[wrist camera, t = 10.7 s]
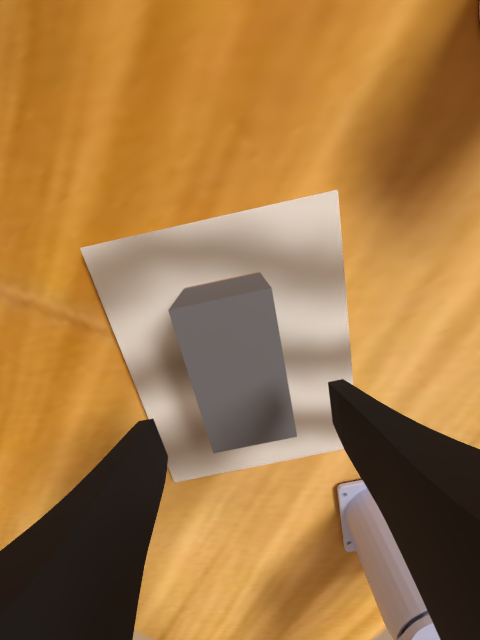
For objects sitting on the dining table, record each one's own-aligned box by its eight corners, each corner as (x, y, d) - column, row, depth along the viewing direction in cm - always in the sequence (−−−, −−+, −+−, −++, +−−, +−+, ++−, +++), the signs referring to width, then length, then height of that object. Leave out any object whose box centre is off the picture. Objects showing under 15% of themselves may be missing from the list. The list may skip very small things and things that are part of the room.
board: (352, 437, 23) (358, 446, 22) (176, 472, 24) (174, 482, 23) (331, 191, 17) (338, 189, 16) (88, 247, 17) (79, 248, 16)
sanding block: (280, 387, 20) (297, 436, 15) (216, 401, 20) (213, 453, 15) (259, 271, 17) (271, 287, 12) (184, 287, 17) (168, 310, 13)
